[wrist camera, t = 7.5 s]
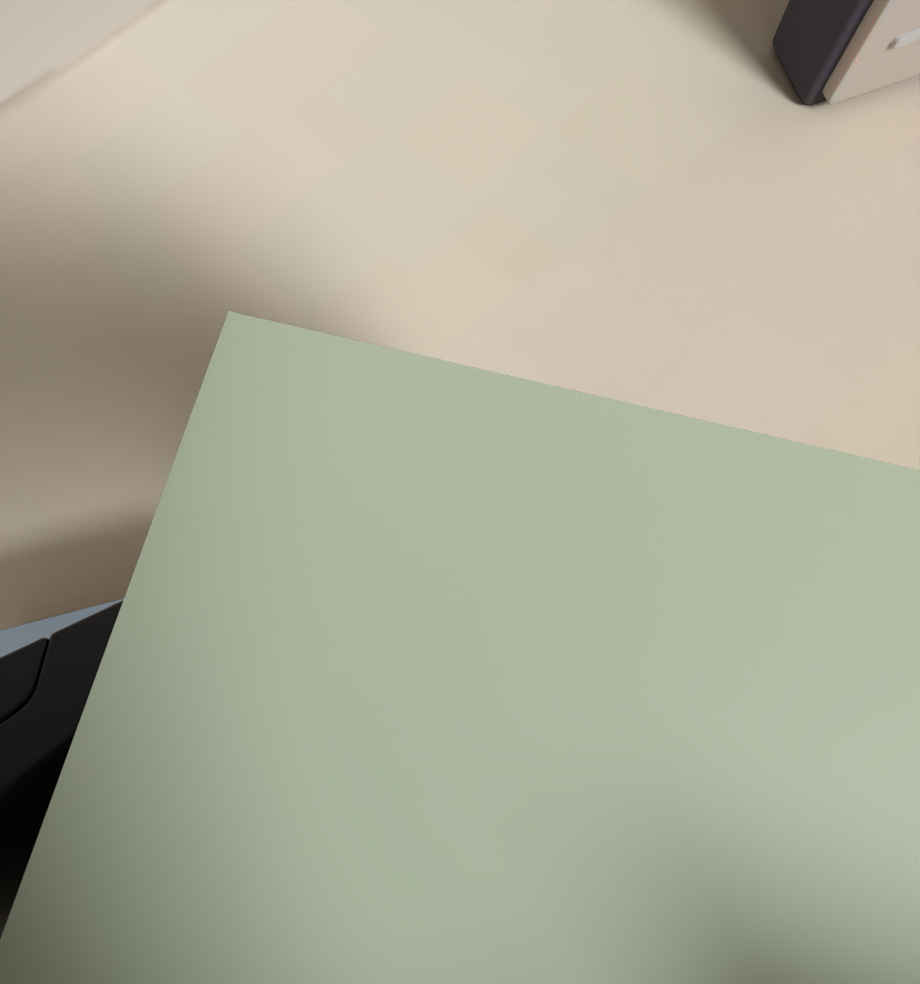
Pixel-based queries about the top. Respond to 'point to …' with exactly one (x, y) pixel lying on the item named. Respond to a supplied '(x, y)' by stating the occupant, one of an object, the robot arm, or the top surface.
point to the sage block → (490, 697)
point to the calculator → (848, 46)
